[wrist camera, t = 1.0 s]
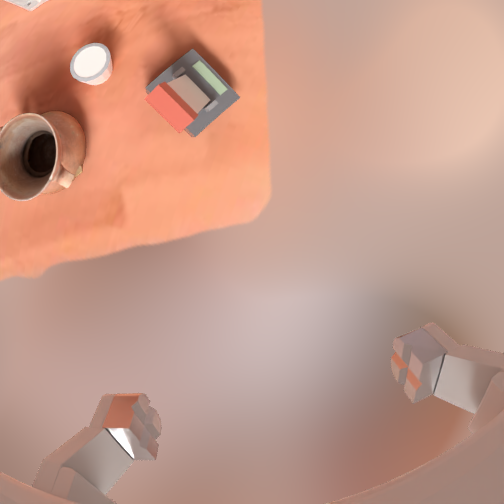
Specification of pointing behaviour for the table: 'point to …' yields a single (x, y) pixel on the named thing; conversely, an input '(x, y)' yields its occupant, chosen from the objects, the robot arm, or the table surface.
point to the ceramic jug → (40, 154)
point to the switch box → (206, 81)
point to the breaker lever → (178, 101)
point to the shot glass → (92, 64)
